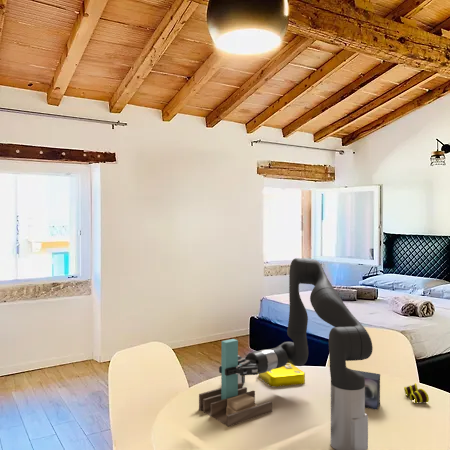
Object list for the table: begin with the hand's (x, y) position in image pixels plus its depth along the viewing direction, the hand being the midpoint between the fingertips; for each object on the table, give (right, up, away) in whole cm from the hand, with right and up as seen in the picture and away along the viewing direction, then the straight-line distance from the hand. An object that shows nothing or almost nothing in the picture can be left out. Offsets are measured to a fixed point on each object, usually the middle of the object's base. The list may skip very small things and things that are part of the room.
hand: (222, 371), depth 144 cm
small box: (+49, -15, +9) cm, 52 cm away
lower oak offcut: (+6, -13, -3) cm, 14 cm away
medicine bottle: (+4, -14, +24) cm, 28 cm away
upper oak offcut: (+6, -10, -4) cm, 12 cm away
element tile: (+24, -15, +34) cm, 44 cm away
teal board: (+2, -13, +2) cm, 13 cm away
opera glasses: (+69, -15, +13) cm, 71 cm away
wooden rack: (+4, -14, -1) cm, 15 cm away
